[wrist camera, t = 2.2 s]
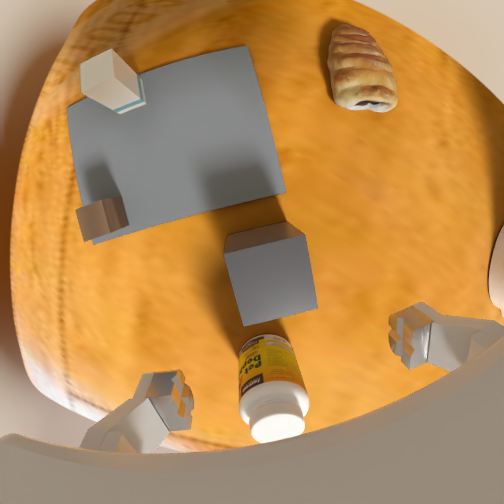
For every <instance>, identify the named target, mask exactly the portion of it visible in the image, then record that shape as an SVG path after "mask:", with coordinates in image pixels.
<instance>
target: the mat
mask: <svg viewBox="0 0 504 504" xmlns="http://www.w3.org/2000/svg"><path fill="white" fill-rule="evenodd" d="M139 76H140V78H141V79H142V81H143V87H144V93H145V99H146V104H145V105H142V106H140V107H137V108H134V109H132V110H129V111H127V112H124V113H122V114H119V113H117V112H114V111H113V110H111V109H110V108H108V107H106V106H104V105H102V104H101V103H99V102H97V101H95V100H93V99H91V98H89V97H87V98H85V99H83V100H81V101H79V102H77V103H76V104H74V105H72V106H70V107H68V108H67V117H68V126H69V134H70V142H71V149H72V155H73V161H74V167H75V172H76V177H77V182H78V187H79V192H80V196H81V200H82V205H83V207H84V206H86V205H89V204H91V203H94V202H96V201H99V200H102V199H109V198H116V197H122V199H123V203H124V207H125V211H126V214H127V218H128V222H129V226H126V227H124V228H121V229H119V230H116V231H114V232H112V233H109V234H106V235H103V236H100V237H97V238H94V239H92V242H93V245H94V244H97V243H101V242H104V241H107V240H110V239H113V238H116V237H120V236H123V235H126V234H129V233H133V232H136V231H139V230H143V229H146V228H149V227H153V226H156V225H160V224H163V223H167V222H170V221H174V220H178V219H181V218H185V217H189V216H192V215H196V214H200V213H204V212H207V211H211V210H215V209H219V208H223V207H227V206H231V205H235V204H239V203H243V202H247V201H252V200H256V199H260V198H264V197H269V196H273V195H278V194H282V193H286V190H285V185H284V181H283V177H282V172H281V168H280V164H279V160H278V155H277V151H276V147H275V143H274V139H273V135H272V131H271V127H270V124H269V120H268V116H267V112H266V108H265V105H264V101H263V97H262V94H261V90H260V87H259V83H258V79H257V76H256V72H255V69H254V66H253V62H252V59H251V55H250V52H249V49H248V46H242V47H236V48H231V49H226V50H221V51H216V52H212V53H208V54H204V55H200V56H196V57H192V58H188V59H185V60H181V61H178V62H175V63H171V64H168V65H165V66H162V67H159V68H156V69H153V70H150V71H147V72H145V73H142V74H139Z"/></svg>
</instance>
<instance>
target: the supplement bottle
mask: <svg viewBox="0 0 504 504" xmlns="http://www.w3.org/2000/svg"><path fill="white" fill-rule="evenodd" d="M308 408H309V398H308V394H307V391H306V388H305V385H304V382H303V378H302V375H301V372H300V369H299V366H298V363H297V360H296V357H295V353H294V351H293V348H292V346H291V345H290V343H289V342H288V341H287V340H285V339H284V338H282V337H280V336H277V335H271V334H265V335H259V336H256V337H254V338H252V339H250V340H249V341H248V342H246V343H245V344H244V346H243V347H242V349H241V351H240V353H239V412H240V415H241V417H242V419H243V420H244V421H245V422H246V423H247V424H248V425H250V430H251V435H252V437H253V438H254V439H255V440H257V441H258V442H260V443H267V442H272V441H277V440H281V439H285V438H290V437H294V436H298V435H301V433H302V432H303V430H304V428H305V422H304V418H303V417H304V416H305V415H306V413H307V411H308Z"/></svg>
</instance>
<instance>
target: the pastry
mask: <svg viewBox="0 0 504 504" xmlns="http://www.w3.org/2000/svg"><path fill="white" fill-rule="evenodd" d="M327 65H328V68H329V70H330V77H331V79H330V83H331V88H332V93H333V99H334V102H335V104H336V105H338V106H339V107H345V108H346V109H349V110H365V109H370V110H372V111H375V112H387V111H390V110H391V109H393V108H394V107H396V106H397V102H398V97H397V83H396V80H395V78H394V75H393V72H392V66H391V64H390V63H389V61H388V59H387V57H386V56H385V55H384V53H383V51H382V50H381V49H380V47H379V45H378V44H377V42H376V41H375V39H374V38H373V37H372V36H371V35H370V34H369V32H367V31H365V30H364V29H361V28H358V27H354V26H350V25H349V24H345V23H344V24H341V25H340V26H338V27H337V28H335V29H334V30H333V31H332V36H331V42H330V44H329V56H328V59H327Z"/></svg>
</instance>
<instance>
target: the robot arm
mask: <svg viewBox="0 0 504 504" xmlns="http://www.w3.org/2000/svg"><path fill="white" fill-rule="evenodd" d="M489 294H490V298H491V301H492V303H493V304H494V306H496V307H497V308H499V309H500V310H501V313H502V316H503V317H504V225H503V227H502V229H501V231H500V233H499V236H498V238H497V241H496V244H495V247H494V251H493V255H492V260H491V265H490V272H489ZM389 325H390V326H391V328H392V329H391V331H390V332H389V344H390V347H391V349H392V351H393V352H394V353H395V355H398V356H401V361H402V362H403V363H404V365H405V366H406V367H407V368H408V369H409V370H410V369H413V368H415V367H417V366H419V365H422V364H424V363H426V362H427V363H429V364H432V365H434V366H437V367H440V368H443V369H446V370H448V371H451V373H449V374H447V375H446V376H444V377H442V378H440V379H439V380H437V381H435V382H433V383H431V384H430V385H428V386H426V387H424V388H422V389H420V390H418V391H416V392H414V393H412V394H410V395H408V396H406V397H404V398H402V399H399V400H397V401H395V402H393V403H391V404H388V405H386V406H384V407H381V408H379V409H376V410H374V411H371V412H369V413H366V414H364V415H361V416H358V417H356V418H353V419H350V420H347V421H345V422H342V423H339V424H336V425H333V426H329V427H326V428H323V429H320V430H316V431H313V432H309V433H305V434H302V435H298V436H294V437H290V438H285V439H281V440H277V441H272V442H267V443H262V444H256V445H251V446H245V447H238V448H231V449H223V450H214V451H204V452H191V453H169V454H168V453H167V454H152V453H153V452H154V451H155V449H156V448H157V447H158V446H159V445H160V444H161V442H162V441H163V440H164V439H165V438H166V436H167V435H168V434H169V433H170V432H169V431H179V430H188V429H191V422H192V416H191V414H190V412H191V411H192V410H193V408H194V399H193V394H192V391H191V389H190V387H189V386H188V385H186V384H185V383H184V381H185V376H184V374H183V372H182V371H181V370H180V369H178V370H170V371H161V372H152V373H145V374H143V375H142V377H141V380H140V382H139V384H138V387H137V389H136V391H135V394H134V396H133V398H132V399H128V400H127V401H126V402H125V403H123V404H122V405H121V406H119V407H118V408H116V409H115V410H114V411H112V412H111V413H110V414H108V415H107V416H106V417H104V418H103V419H102V420H100V421H99V422H97V423H96V424H95V425H93V426H92V427H91V428H89V429H88V431H87V433H86V435H85V437H84V439H83V441H82V443H81V445H80V447H79V448H76V447H69V446H64V445H59V444H53V443H49V442H45V441H40V440H36V439H32V438H29V437H25V436H22V435H18V434H8V435H6V436H3V437H1V438H0V504H504V326H502V325H501V324H499V323H497V322H496V321H493V320H484V319H474V318H466V317H457V316H449V315H446V316H443V315H441V314H440V313H438V312H437V311H435V310H434V309H432V308H431V307H429V306H428V305H426V304H425V303H423V302H419V303H417V304H414V305H412V306H410V307H408V308H406V309H403V310H401V311H399V312H396V313H394V314H391V315H390V316H389Z"/></svg>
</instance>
